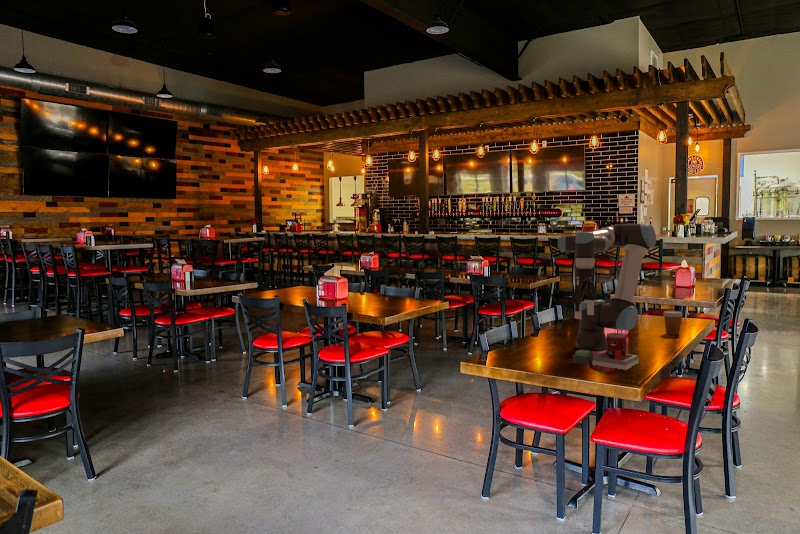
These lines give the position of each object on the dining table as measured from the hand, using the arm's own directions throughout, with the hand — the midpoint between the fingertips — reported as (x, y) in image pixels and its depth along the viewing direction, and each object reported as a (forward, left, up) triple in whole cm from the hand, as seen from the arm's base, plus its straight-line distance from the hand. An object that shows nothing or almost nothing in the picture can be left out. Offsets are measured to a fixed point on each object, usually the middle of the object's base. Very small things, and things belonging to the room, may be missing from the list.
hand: (584, 316), depth 251 cm
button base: (0, 0, -20) cm, 20 cm away
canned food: (-6, +12, -19) cm, 23 cm away
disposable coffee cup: (-87, +10, -21) cm, 90 cm away
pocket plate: (-6, +12, -20) cm, 24 cm away
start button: (0, 0, -18) cm, 18 cm away
